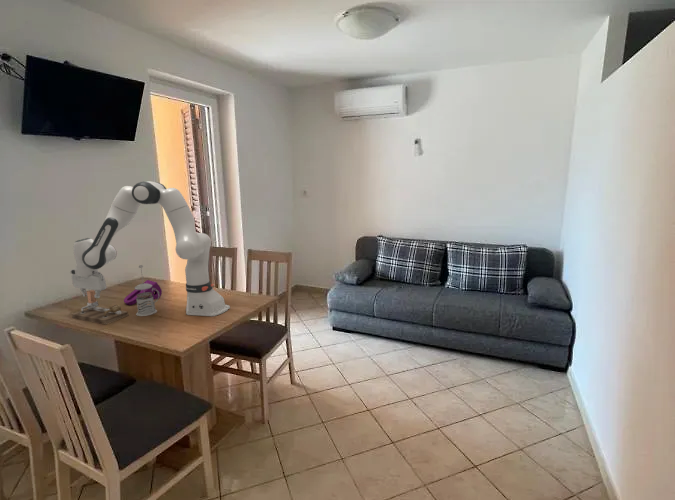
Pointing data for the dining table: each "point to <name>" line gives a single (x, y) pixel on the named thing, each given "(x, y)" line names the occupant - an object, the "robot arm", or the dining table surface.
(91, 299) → the sliding divider leg
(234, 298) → the dining table surface
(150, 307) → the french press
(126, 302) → the purple curved piece
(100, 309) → the gauge board
